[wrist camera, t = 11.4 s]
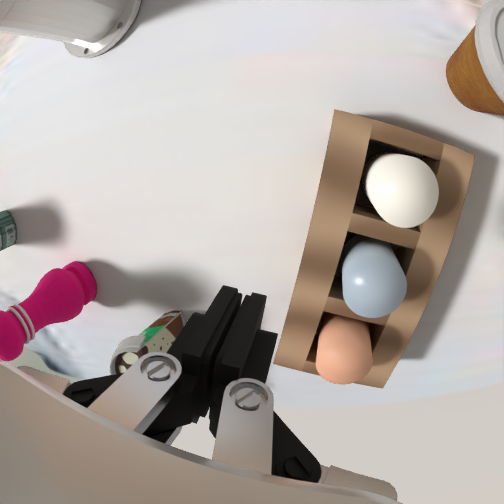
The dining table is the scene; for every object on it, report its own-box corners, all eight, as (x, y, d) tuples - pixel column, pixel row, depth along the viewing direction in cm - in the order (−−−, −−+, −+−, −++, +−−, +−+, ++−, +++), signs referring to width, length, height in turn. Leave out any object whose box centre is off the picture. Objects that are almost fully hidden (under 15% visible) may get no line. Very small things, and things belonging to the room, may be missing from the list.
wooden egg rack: (333, 115, 25) (334, 109, 21) (453, 152, 23) (475, 155, 19) (281, 336, 34) (273, 363, 30) (379, 359, 32) (382, 388, 28)
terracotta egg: (328, 298, 30) (325, 335, 24) (374, 309, 29) (381, 347, 23) (314, 337, 32) (308, 377, 26) (358, 347, 31) (360, 388, 25)
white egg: (369, 145, 24) (380, 146, 18) (421, 161, 23) (446, 168, 17) (356, 200, 26) (363, 217, 20) (407, 214, 25) (427, 235, 19)
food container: (138, 297, 38) (91, 338, 29) (179, 299, 36) (135, 347, 27) (161, 370, 42) (127, 416, 33) (198, 376, 40) (168, 428, 31)
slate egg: (349, 226, 27) (353, 250, 21) (399, 240, 26) (416, 267, 20) (335, 275, 29) (334, 309, 23) (383, 288, 28) (393, 323, 22)
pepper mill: (103, 275, 38) (-8, 355, 20) (96, 312, 41) (3, 391, 23) (68, 248, 39) (-42, 311, 21) (63, 286, 42) (-30, 351, 24)
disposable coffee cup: (458, 140, 23) (526, 145, 12) (412, 50, 21) (455, 2, 10) (522, 112, 19) (595, 111, 8) (481, 28, 17) (538, -10, 6)
